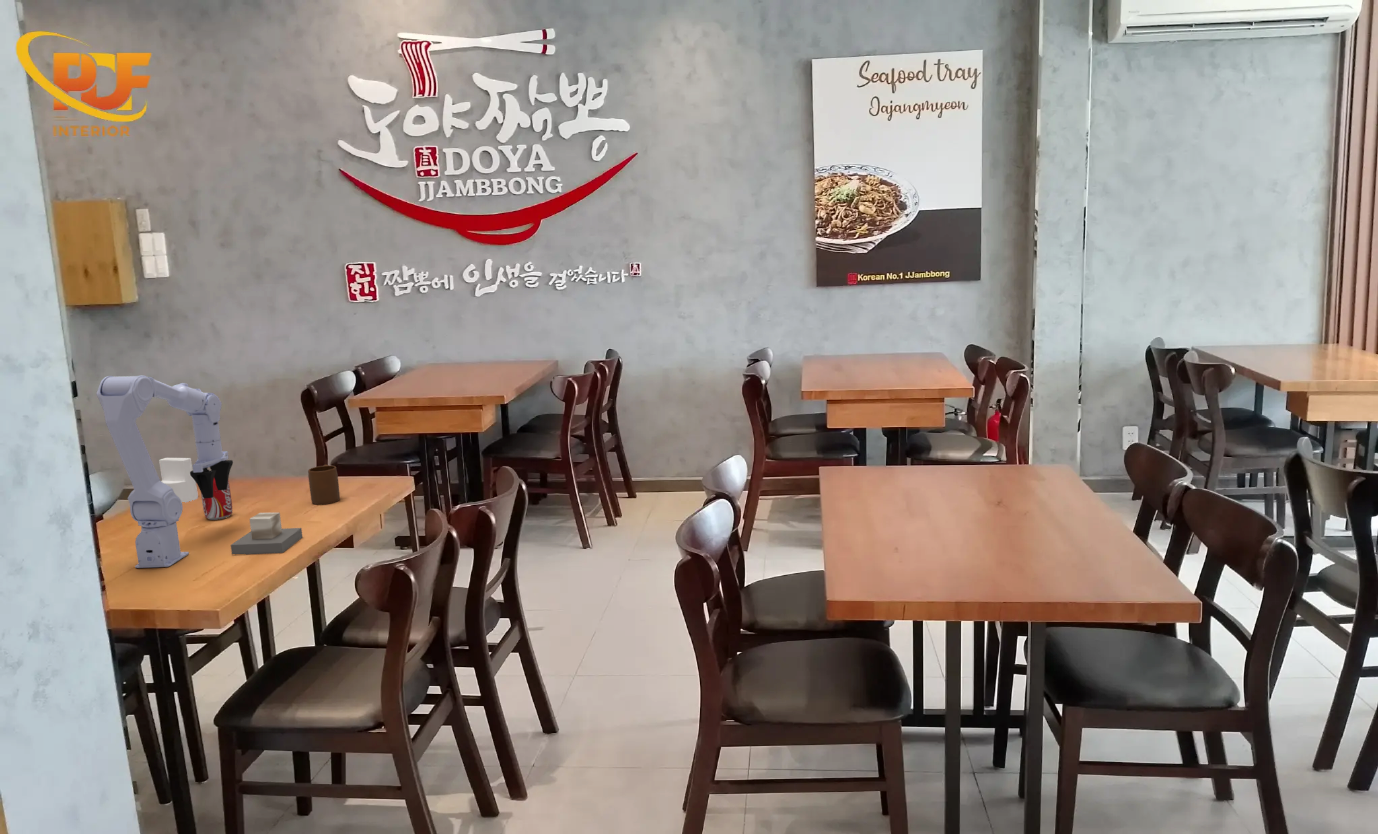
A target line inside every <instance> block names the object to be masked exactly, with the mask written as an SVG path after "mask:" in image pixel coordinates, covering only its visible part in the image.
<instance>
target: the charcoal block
mask: <svg viewBox="0 0 1378 834" xmlns="http://www.w3.org/2000/svg"><path fill="white" fill-rule="evenodd" d="M301 539H303V530H302V527H290V528H289V527H287V528H286V527H285V528H282V533H281V534H279V535H278V536H276V537H274V538H273V539H252V535H251V531H250V532H248V533H246V534H245V535H243V536H241V537H240V538H238V539H237V540H236V541H235V542H233V543H232V544H230V552H231V555H232V554H246V555H266V554H267V555H268V554H270V555H271V554H283V553H285V552H286V551H287V550H289V549H290V548H292V546H294V545H295V544H296V543H297V542H299V541H300V540H301Z"/></svg>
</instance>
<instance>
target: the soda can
mask: <svg viewBox="0 0 1378 834" xmlns="http://www.w3.org/2000/svg"><path fill="white" fill-rule="evenodd" d="M200 495H201V501H202V502H201V503H202V510H203V514H204V517H205V518H206V519H208V520H210V521H217V520H218V519H219V520H224V519H227V518H229V517H230V516H231V515H232V514H233V501H232V494H231V488H230V480H229V479H228V487H227V490H218V489H217V486H216V483H215V478H214V481H213V498H203V496H202V493H201V492H200ZM226 517H227V518H226Z"/></svg>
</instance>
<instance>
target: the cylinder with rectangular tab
mask: <svg viewBox="0 0 1378 834" xmlns="http://www.w3.org/2000/svg"><path fill="white" fill-rule="evenodd" d="M158 462H159V470H160V474H161V475H160V476H161V480H160V481H161V482H163V483H164V484H166V485H168V486H169V487H171V488H172V489H173V491H174V493H175V494H176V495H177V496H178V497H179V498H180V500H181V502H185V503H189V501H190V502H193V501H195V500H197V499H199V494H198V485H197V483H196V482H195V480H194V479H193V478H192V477H191V476H190V472H191V471H193V466H192V465H193V463H192V458H191V457H164V458H161V459H159V460H158ZM192 500H193V501H192Z"/></svg>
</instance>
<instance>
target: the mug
mask: <svg viewBox="0 0 1378 834" xmlns="http://www.w3.org/2000/svg"><path fill="white" fill-rule="evenodd" d="M307 472H308V474H307V475H308V476H307V478H308V485H309V493H310V501H311V503H312V504H314V505H318V504H322V505H329V504H334V503H337V502H339V501H340V498H341V496H340V494H341V492H340V484H339V475H338V471H337V467H336V466H335V465H328V463H327V464H324V465H319V466H314V467H311V468H309V469H308V471H307ZM333 502H334V503H333Z"/></svg>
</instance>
